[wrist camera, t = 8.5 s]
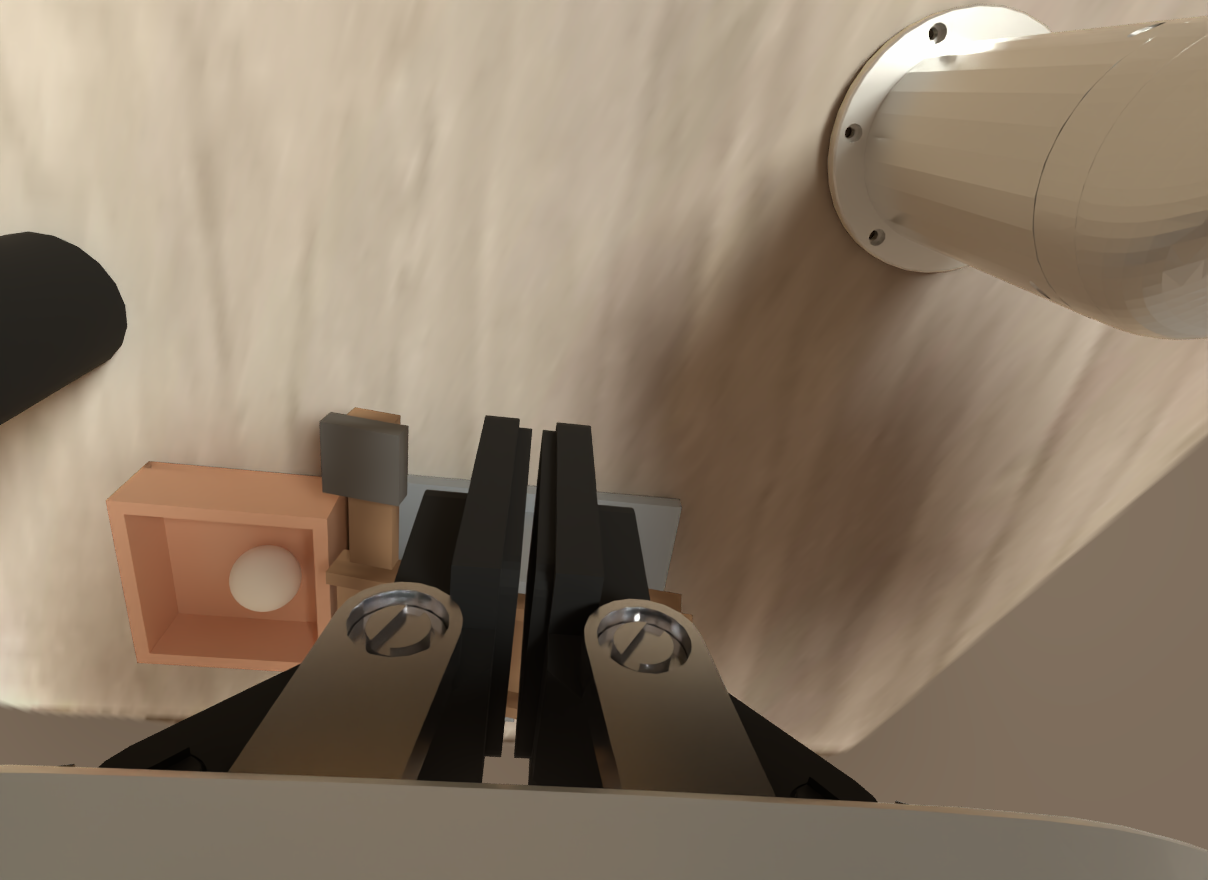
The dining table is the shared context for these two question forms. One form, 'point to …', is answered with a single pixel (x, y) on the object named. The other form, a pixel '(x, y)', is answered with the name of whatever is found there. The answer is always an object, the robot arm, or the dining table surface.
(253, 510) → the pink hollow square tray
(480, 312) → the dining table surface
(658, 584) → the stand
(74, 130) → the dining table surface
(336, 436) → the lever
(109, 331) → the wine bottle
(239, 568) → the ball
